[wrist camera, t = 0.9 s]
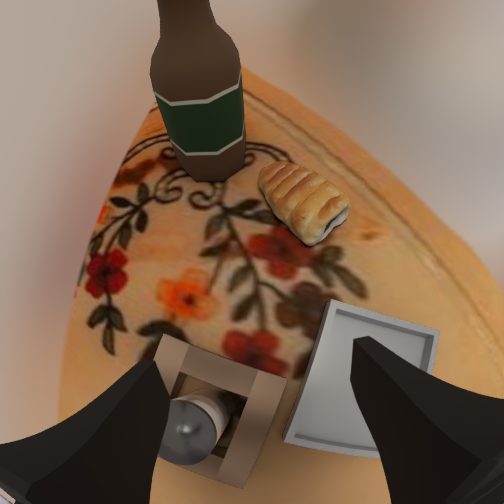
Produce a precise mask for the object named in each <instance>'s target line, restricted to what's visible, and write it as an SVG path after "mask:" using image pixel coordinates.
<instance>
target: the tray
mask: <svg viewBox="0 0 504 504" xmlns="http://www.w3.org/2000/svg"><path fill="white" fill-rule="evenodd" d="M439 335H440V330H436V329H433V328H429V327H426V326H422V325H418V324H415V323H411V322H408V321H404V320H401V319H397V318H394V317H390V316H387V315H383V314H380V313H376V312H373V311H370V310H366V309H363V308H359V307H356V306H353V305H349V304H346V303H343V302H339V301H336V300H333V299H331V300H330V301H329V302H328V303H327V304H326V307H325V310H324V314H323V318H322V321H321V324H320V328H319V331H318V335H317V338H316V341H315V344H314V348H313V351H312V354H311V357H310V360H309V363H308V366H307V369H306V372H305V375H304V378H303V381H302V384H301V387H300V389H299V392H298V395H297V398H296V401H295V403H294V406H293V409H292V411H291V414H290V417H289V419H288V422H287V424H286V427H285V429H284V432H283V434H282V438H283V441H284V442H286V443H290V444H294V445H298V446H303V447H307V448H312V449H317V450H322V451H328V452H333V453H340V454H346V455H354V456H362V457H371V458H380V455H379V452H378V449H377V447H376V444H375V442H374V440H373V438H372V435H371V433H370V431H369V429H368V427H367V424H366V422H365V420H364V418H363V416H362V413H361V411H360V409H359V407H358V404H357V402H356V399H355V396H354V392H353V389H352V386H351V382H350V373H351V362H352V349H353V339H355V338H360V337H364V336H370V337H372V338H373V339H375V340H376V341H378V342H379V343H381V344H382V345H384V346H385V347H387V348H388V349H389V350H391V351H392V352H394V353H395V354H397V355H398V356H400V357H401V358H403V359H405V360H406V361H408V362H409V363H411V364H413V365H414V366H416V367H418V368H419V369H421V370H423V371H425V372H427V373H428V374H430V375H432V371H433V366H434V362H435V357H436V352H437V347H438V341H439Z"/></svg>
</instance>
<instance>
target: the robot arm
mask: <svg viewBox="0 0 504 504" xmlns="http://www.w3.org/2000/svg"><path fill="white" fill-rule="evenodd" d="M350 382H351V386H352V389H353V392H354V396H355V399H356V402H357V404H358V407H359V409H360V411H361V413H362V416H363V418H364V420H365V422H366V424H367V427H368V429H369V431H370V433H371V435H372V438H373V440H374V442H375V444H376V447H377V449H378V452H379V455H380V458H381V462H382V465H383V469H384V472H385V476H386V480H387V484H388V489H389V493H390V498H391V504H504V399H500V398H494V397H489V396H485V395H481V394H478V393H474V392H471V391H468V390H465V389H462V388H459V387H456V386H454V385H452V384H449V383H447V382H445V381H442V380H440V379H438V378H436V377H434V376H432V375H430V374H428V373H427V372H425V371H423V370H421V369H419V368H418V367H416V366H414V365H413V364H411V363H409V362H408V361H406V360H405V359H403V358H401V357H400V356H398V355H397V354H395V353H394V352H392V351H391V350H389V349H388V348H387V347H385V346H384V345H382V344H381V343H379V342H378V341H376V340H375V339H373V338H372V337H370V336H364V337H360V338H355V339H353V349H352V362H351V373H350ZM170 401H171V398H170V395H169V393H168V391H167V388H166V386H165V384H164V381H163V379H162V377H161V374H160V372H159V369H158V367H157V364H156V362H155V361H140V362H138V363H137V364H136V365H134V366H133V367H132V368H131V369H130V370H129V371H127V372H126V373H125V374H124V375H123V376H122V377H121V378H120V379H118V380H117V381H116V382H115V383H114V384H113V385H111V386H110V387H109V388H108V389H107V390H106V391H105V392H103V393H102V394H101V395H100V396H98V397H97V398H96V399H94V400H93V401H92V402H91V403H89V404H88V405H87V406H85V407H84V408H83V409H81V410H80V411H78V412H77V413H75V414H74V415H72V416H71V417H69V418H67V419H66V420H64V421H62V422H61V423H59V424H57V425H55V426H53V427H51V428H49V429H47V430H45V431H42V432H41V433H38V434H35V435H33V436H30V437H27V438H24V439H21V440H18V441H14V442H10V443H5V444H0V488H2V489H3V490H4V491H5V492H6V493H7V494H9V495H10V496H11V497H12V498H14V499H15V500H16V501H15V503H14V504H149V502H150V491H151V483H152V476H153V471H154V466H155V463H156V459H157V456H158V452H159V449H160V446H161V442H162V439H163V435H164V432H165V428H166V425H167V421H168V416H169V409H170ZM0 504H12V503H11V502H10V501H8V500H7V499H6V498H4V497H3V496H2V495H0Z"/></svg>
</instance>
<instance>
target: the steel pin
mask: <svg viewBox="0 0 504 504" xmlns="http://www.w3.org/2000/svg"><path fill="white" fill-rule="evenodd" d="M230 418H231V407H230V404H229V402H228V401H227V399H226V398H225V397H224V396H223V395H222V394H220V393H219V392H217V391H214V390H211V389H200V390H197V391H194V392H192V393H189V394H186V395H184V396H181V397H178V398H175V399H173V400H171V401H170V409H169V416H168V421H167V425H166V428H165V432H164V435H163V439H162V442H161V446H160V449H159V452H158V455H159V456H160V457H161V458H163V459H164V460H166V461H168V462H171V463H173V464H177V465H193V464H197V463H199V462H201V461H203V460H204V459H206V458H207V457H208V456H209V454H210V453H211V451H212V450H213V448H214V447H215V445H216V443H217V441H218V440H219V438H220V436H221V435H222V433H223V431H224V430H225V428H226V426H227V424H228V423H229V421H230Z"/></svg>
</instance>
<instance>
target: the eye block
mask: <svg viewBox="0 0 504 504" xmlns="http://www.w3.org/2000/svg"><path fill="white" fill-rule="evenodd" d="M153 361H155V362H156V364H157V367H158V369H159V372H160V374H161V377H162V379H163V381H164V384H165V386H166V388H167V391H168V393H169V395H170V398H171V400H173V399H175V398H177V397H178V395H179V392H180V389H181V387H182V384H183V381H184V379H185V376H186V374H187V375H190V376H192V377H195V378H197V379H199V380H202V381H204V382H207V383H209V384H212V385H215V386H217V387H220V388H223V389H225V390H228V391H231V392H234V393H236V394H239V395H242V396H245V397H248V400H247V402H246V405H245V407H244V410H243V413H242V415H241V418H240V420H239V423H238V425H237V428H236V430H235V433H234V435H233V438H232V440H231V443H230V445H229V448H228V450H227V449H224V448H222V447H219V446H216V445H215V447H214V448H213V450H212V451H211V453H210V454H209V456H208V457H207V458H206V459H204V460H203V461H201V462H199V463H197V464H193V465H177V464H175V465H177V466H180V467H182V468H184V469H187V470H189V471H192V472H194V473H197V474H199V475H202V476H205V477H207V478H210V479H213V480H216V481H219V482H222V483H225V484H228V485H231V486H234V487H237V488H241V489H243V487H244V485H245V483H246V481H247V479H248V477H249V474H250V472H251V470H252V468H253V465H254V463H255V461H256V459H257V456H258V454H259V452H260V449H261V447H262V445H263V442H264V440H265V437H266V435H267V432H268V430H269V427H270V425H271V422H272V420H273V417H274V415H275V412H276V409H277V407H278V404H279V402H280V399H281V396H282V393H283V391H284V388H285V385H286V382H287V380H288V379H287V378H285V377H282V376H279V375H275V374H272V373H269V372H266V371H263V370H259V369H256V368H253V367H250V366H247V365H245V364H242V363H239V362H236V361H233V360H230V359H228V358H225V357H222V356H220V355H217V354H214V353H212V352H209V351H206V350H204V349H201V348H199V347H196V346H194V345H191V344H189V343H187V342H184V341H182V340H179V339H177V338H175V337H172V336H169V335H167V334H163V337H162V339H161V342H160V344H159V347H158V349H157V352H156V355H155V357H154V360H153ZM158 457H160V456H159V455H158ZM160 458H161V457H160ZM162 459H163V458H162Z"/></svg>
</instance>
